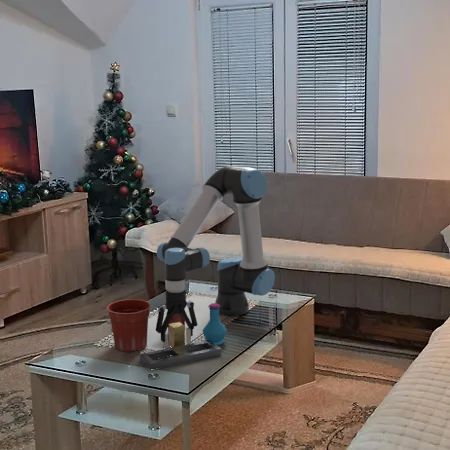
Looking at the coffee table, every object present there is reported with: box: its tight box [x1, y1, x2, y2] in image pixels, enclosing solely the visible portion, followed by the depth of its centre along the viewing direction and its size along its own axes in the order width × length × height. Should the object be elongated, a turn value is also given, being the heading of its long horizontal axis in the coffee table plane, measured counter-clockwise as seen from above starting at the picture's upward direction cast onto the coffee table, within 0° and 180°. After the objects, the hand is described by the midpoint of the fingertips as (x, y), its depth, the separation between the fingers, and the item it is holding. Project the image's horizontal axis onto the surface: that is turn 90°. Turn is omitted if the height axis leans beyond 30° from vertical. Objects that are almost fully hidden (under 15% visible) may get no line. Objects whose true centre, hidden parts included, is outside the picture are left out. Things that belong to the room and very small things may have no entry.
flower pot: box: [106, 298, 152, 353], centre depth 267 cm, size 16×16×16 cm
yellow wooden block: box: [168, 322, 186, 348], centre depth 266 cm, size 4×4×9 cm
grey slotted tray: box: [139, 339, 222, 371], centre depth 257 cm, size 28×10×2 cm, turn 118°
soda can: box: [166, 308, 186, 333], centre depth 281 cm, size 7×7×12 cm
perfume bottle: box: [202, 302, 228, 346], centre depth 271 cm, size 9×9×15 cm
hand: (177, 346), depth 267 cm, fingers open, 9 cm apart
